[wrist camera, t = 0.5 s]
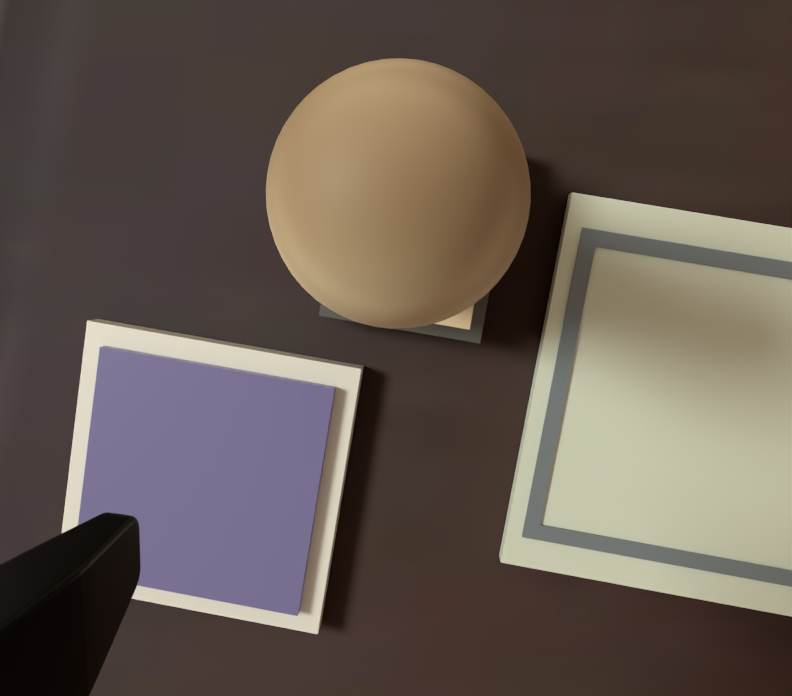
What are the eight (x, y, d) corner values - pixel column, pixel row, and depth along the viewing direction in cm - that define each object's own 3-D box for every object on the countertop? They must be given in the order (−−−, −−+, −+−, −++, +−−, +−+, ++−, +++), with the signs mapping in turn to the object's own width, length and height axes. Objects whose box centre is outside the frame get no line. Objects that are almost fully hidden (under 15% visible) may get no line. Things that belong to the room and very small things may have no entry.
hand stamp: (477, 339, 23) (527, 423, 10) (326, 312, 23) (184, 363, 10) (511, 152, 23) (613, -16, 9) (356, 127, 23) (244, -72, 10)
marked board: (831, 616, 23) (843, 627, 23) (499, 555, 24) (501, 563, 23) (922, 252, 22) (937, 252, 21) (568, 194, 23) (572, 192, 22)
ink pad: (321, 622, 24) (315, 640, 23) (67, 573, 25) (49, 588, 24) (363, 365, 24) (360, 370, 22) (98, 319, 24) (81, 321, 23)
